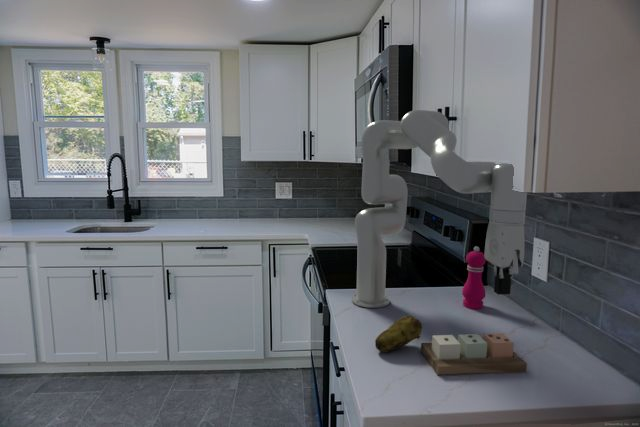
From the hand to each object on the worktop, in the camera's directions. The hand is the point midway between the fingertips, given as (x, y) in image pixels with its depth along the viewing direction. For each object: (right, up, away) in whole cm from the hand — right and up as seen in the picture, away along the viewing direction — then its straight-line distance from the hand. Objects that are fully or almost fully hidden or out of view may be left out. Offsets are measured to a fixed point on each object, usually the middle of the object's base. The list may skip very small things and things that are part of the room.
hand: (501, 293), depth 101 cm
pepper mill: (+7, -12, +39) cm, 41 cm away
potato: (-23, -16, +8) cm, 30 cm away
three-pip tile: (0, -15, +2) cm, 15 cm away
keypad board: (-7, -17, +2) cm, 18 cm away
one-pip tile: (-13, -15, +1) cm, 20 cm away
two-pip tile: (-7, -15, +2) cm, 17 cm away
